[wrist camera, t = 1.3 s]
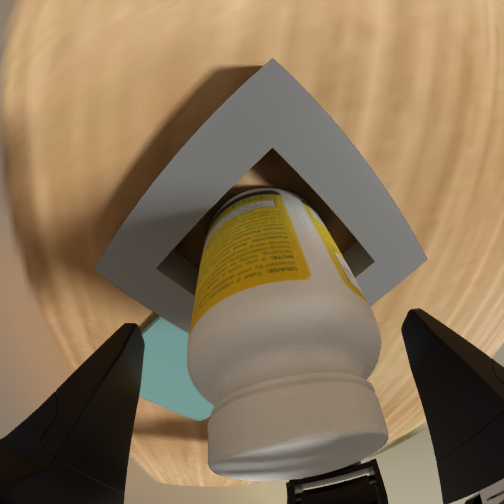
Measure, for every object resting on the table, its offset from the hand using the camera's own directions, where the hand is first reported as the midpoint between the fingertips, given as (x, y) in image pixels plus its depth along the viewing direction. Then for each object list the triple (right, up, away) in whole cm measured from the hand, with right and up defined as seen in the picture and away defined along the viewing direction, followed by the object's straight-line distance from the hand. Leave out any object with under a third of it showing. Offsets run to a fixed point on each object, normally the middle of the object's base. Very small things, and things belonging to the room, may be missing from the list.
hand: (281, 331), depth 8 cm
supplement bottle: (0, +3, +5) cm, 6 cm away
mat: (-6, -7, +10) cm, 14 cm away
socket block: (0, +3, +5) cm, 6 cm away
